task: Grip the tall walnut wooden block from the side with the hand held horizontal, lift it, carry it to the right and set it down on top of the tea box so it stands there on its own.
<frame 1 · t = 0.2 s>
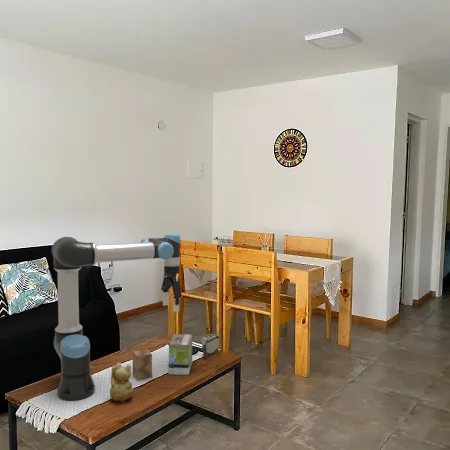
hand: (170, 308, 230), 27 cm above the table, tool pointing down, fingers open, 13 cm apart
decorative figurine: (121, 400, 193), on the table
tea box: (180, 369, 224), on the table
food container: (208, 355, 241), on the table
walnut block: (142, 376, 215), on the table
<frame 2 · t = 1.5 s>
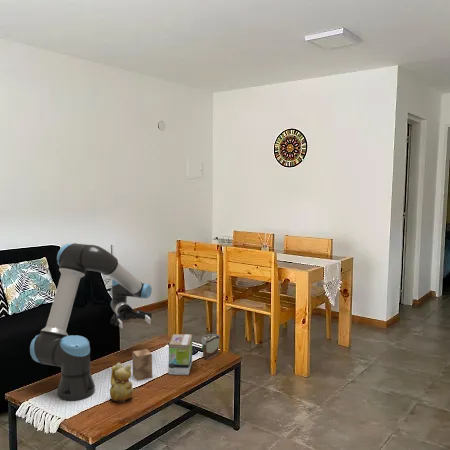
hand: (136, 323, 221), 22 cm above the table, tool horizontal, fingers open, 13 cm apart
nothing on the table moved.
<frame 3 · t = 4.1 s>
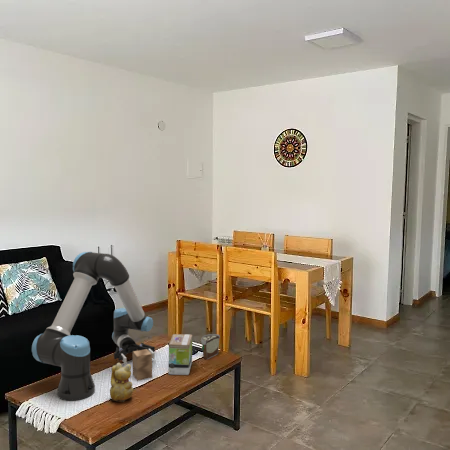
hand: (139, 358, 220), 6 cm above the table, tool horizontal, fingers open, 13 cm apart
nothing on the table moved.
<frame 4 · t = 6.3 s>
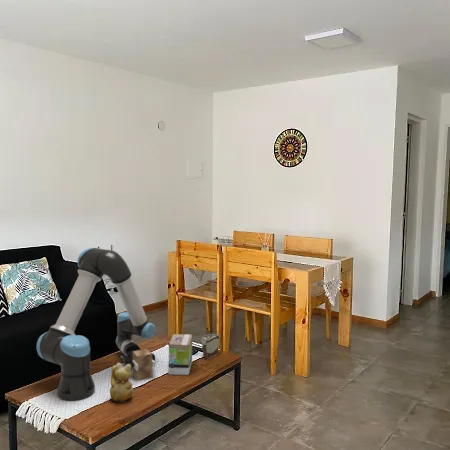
hand: (145, 366, 210), 7 cm above the table, tool horizontal, fingers closed on walnut block, 7 cm apart
walnut block: (142, 376, 215), on the table, touching gripper
everything else where it was.
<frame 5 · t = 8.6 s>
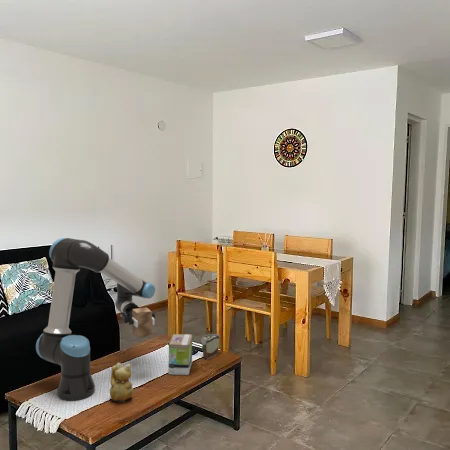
hand: (145, 323, 208), 26 cm above the table, tool horizontal, fingers closed on walnut block, 7 cm apart
walnut block: (142, 334, 213), point 20 cm above the table, touching gripper
everything else where it was.
when the fingers open (23 cm above the table, at t = 11.1 s): walnut block drops 2 cm, resting on tea box.
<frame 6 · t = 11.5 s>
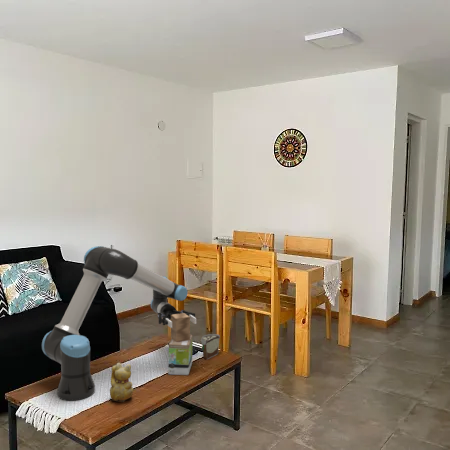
hand: (183, 323, 219), 23 cm above the table, tool horizontal, fingers open, 11 cm apart
tea box: (180, 369, 224), on the table, touching walnut block
walnut block: (180, 338, 223), point 15 cm above the table, touching tea box
everything else where it was.
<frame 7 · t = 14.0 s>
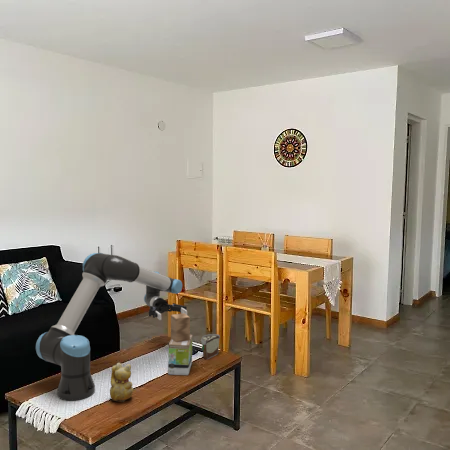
hand: (173, 315, 230), 24 cm above the table, tool horizontal, fingers open, 13 cm apart
nothing on the table moved.
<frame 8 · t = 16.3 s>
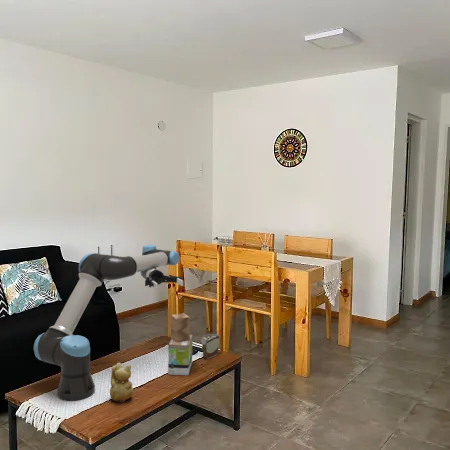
hand: (169, 284, 232), 38 cm above the table, tool horizontal, fingers open, 13 cm apart
nothing on the table moved.
at the end: walnut block 0.1 cm from the tea box (horizontally); walnut block point 14.6 cm above the table; walnut block tilted 0° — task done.
